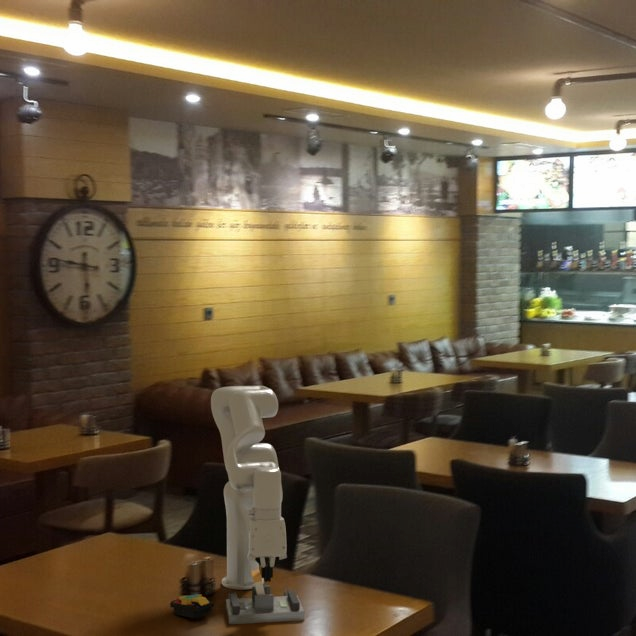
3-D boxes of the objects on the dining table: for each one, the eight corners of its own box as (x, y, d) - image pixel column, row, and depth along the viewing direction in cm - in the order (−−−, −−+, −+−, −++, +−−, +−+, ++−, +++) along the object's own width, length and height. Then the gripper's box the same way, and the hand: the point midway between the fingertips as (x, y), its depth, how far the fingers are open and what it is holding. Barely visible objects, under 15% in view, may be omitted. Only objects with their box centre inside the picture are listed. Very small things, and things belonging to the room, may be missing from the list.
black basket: (185, 611, 265) (183, 591, 265) (216, 615, 256) (214, 595, 256) (166, 617, 260) (164, 597, 261) (197, 622, 251) (195, 600, 252)
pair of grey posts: (228, 599, 272) (228, 585, 271) (290, 596, 275) (290, 581, 274) (233, 622, 254) (233, 606, 254) (299, 618, 257) (299, 602, 256)
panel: (225, 607, 265) (225, 584, 265) (297, 604, 268) (297, 581, 268) (229, 624, 252) (229, 600, 252) (304, 620, 255) (304, 596, 255)
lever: (258, 601, 263) (250, 570, 262) (265, 599, 263) (258, 568, 262) (260, 608, 257) (253, 577, 256) (268, 606, 257) (261, 575, 256)
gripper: (241, 517, 254) (241, 586, 255) (296, 515, 257) (296, 583, 258) (238, 511, 262) (238, 577, 262) (292, 509, 264) (292, 574, 265)
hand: (267, 580), depth 260 cm, fingers closed
